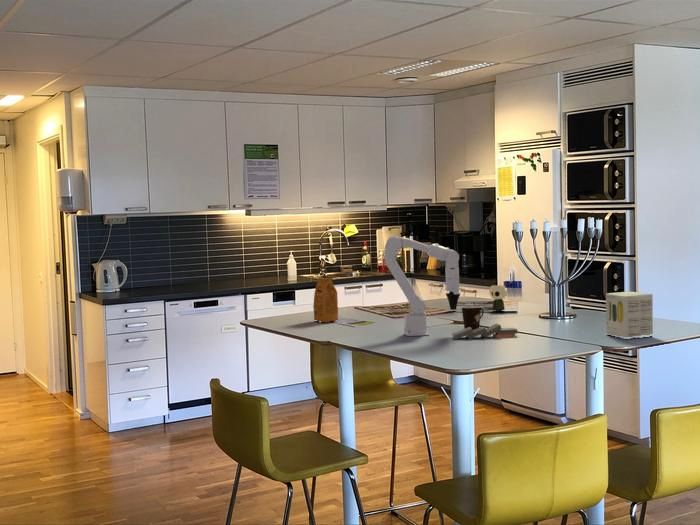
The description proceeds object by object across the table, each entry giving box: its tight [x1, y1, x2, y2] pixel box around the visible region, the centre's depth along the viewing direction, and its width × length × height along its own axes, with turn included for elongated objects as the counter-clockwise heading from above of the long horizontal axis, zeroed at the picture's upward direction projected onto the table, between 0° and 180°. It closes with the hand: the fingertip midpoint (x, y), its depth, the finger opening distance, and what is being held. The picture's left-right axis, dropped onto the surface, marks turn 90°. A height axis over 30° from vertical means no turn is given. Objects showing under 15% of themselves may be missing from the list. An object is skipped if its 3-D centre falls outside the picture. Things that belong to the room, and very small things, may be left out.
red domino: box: [492, 333, 516, 338], centre depth 350 cm, size 2×5×8 cm
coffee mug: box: [461, 305, 485, 330], centre depth 371 cm, size 12×9×10 cm
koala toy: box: [489, 285, 508, 312], centre depth 427 cm, size 11×7×13 cm, turn 42°
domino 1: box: [465, 325, 487, 340], centre depth 348 cm, size 2×5×8 cm
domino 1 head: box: [451, 327, 473, 340], centre depth 348 cm, size 2×5×8 cm
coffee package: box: [312, 275, 339, 323], centre depth 409 cm, size 10×12×22 cm
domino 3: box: [495, 327, 518, 335], centre depth 350 cm, size 2×5×8 cm
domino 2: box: [480, 323, 503, 339], centre depth 349 cm, size 2×5×8 cm
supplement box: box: [605, 291, 654, 337], centre depth 339 cm, size 13×13×18 cm
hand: (453, 309), depth 360 cm, fingers closed
